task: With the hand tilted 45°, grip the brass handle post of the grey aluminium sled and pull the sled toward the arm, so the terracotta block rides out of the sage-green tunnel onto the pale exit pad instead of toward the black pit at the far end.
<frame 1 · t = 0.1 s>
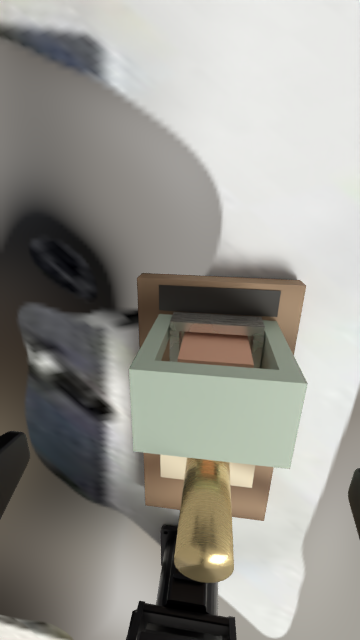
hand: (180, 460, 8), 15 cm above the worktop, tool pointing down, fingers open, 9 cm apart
tunnel: (214, 340, 22), resting on track board
track board: (210, 405, 25), on the worktop
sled: (210, 428, 17), point 7 cm above the worktop, slide at 0.0 cm, touching terracotta block
terracotta block: (214, 358, 20), point 3 cm above the worktop, touching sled
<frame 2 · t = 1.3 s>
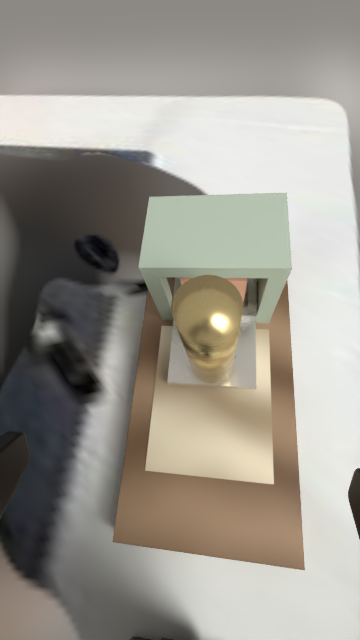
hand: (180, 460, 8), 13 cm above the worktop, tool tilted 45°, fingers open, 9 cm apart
tunnel: (215, 300, 25), resting on track board
track board: (212, 371, 22), on the worktop
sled: (213, 284, 17), point 7 cm above the worktop, slide at 0.0 cm, touching terracotta block
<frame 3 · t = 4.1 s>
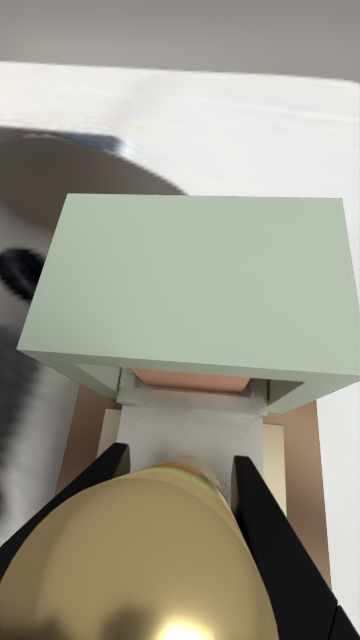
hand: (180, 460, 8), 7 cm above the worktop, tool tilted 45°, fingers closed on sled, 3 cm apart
tunnel: (197, 361, 16), resting on track board
track board: (187, 488, 13), on the worktop
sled: (187, 374, 9), point 7 cm above the worktop, slide at 0.0 cm, touching gripper, terracotta block
terracotta block: (196, 344, 13), point 3 cm above the worktop, touching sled
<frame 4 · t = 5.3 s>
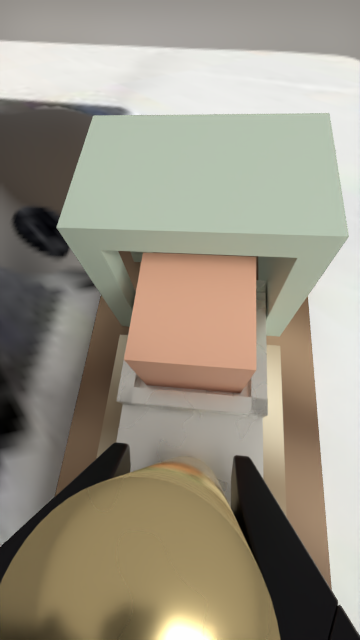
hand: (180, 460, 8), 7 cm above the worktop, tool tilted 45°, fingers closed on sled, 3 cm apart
tunnel: (201, 300, 17), resting on track board
track board: (193, 406, 15), on the worktop
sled: (187, 373, 9), point 7 cm above the worktop, slide at 3.7 cm, touching gripper, terracotta block
terracotta block: (196, 344, 13), point 3 cm above the worktop, touching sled
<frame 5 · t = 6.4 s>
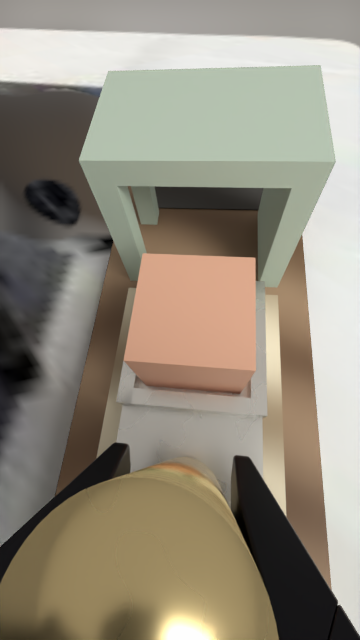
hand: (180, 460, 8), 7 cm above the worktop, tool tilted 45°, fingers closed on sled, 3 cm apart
tunnel: (204, 261, 18), resting on track board
track board: (197, 353, 16), on the worktop
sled: (187, 374, 9), point 7 cm above the worktop, slide at 6.5 cm, touching gripper, terracotta block
terracotta block: (196, 345, 13), point 3 cm above the worktop, touching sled
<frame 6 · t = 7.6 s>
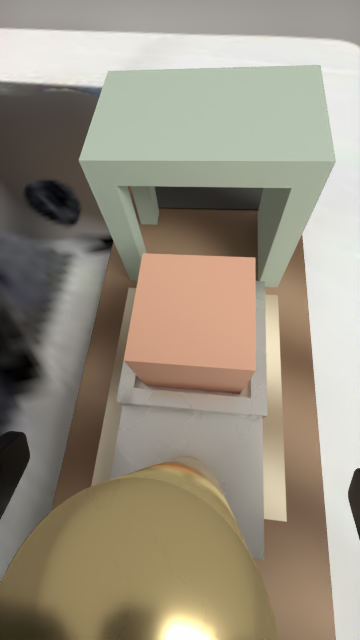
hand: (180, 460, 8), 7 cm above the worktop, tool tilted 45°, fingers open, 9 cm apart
tunnel: (204, 261, 18), resting on track board
track board: (197, 353, 16), on the worktop
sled: (187, 374, 9), point 7 cm above the worktop, slide at 6.5 cm, touching terracotta block
terracotta block: (196, 345, 13), point 3 cm above the worktop, touching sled
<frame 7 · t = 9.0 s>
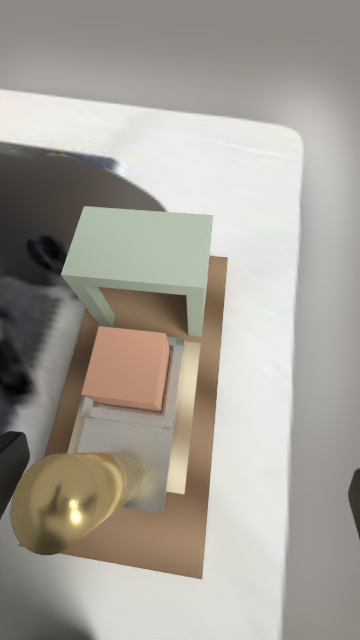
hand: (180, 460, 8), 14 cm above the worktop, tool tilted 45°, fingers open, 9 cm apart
tunnel: (157, 310, 25), resting on track board
track board: (144, 380, 23), on the worktop
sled: (115, 404, 15), point 7 cm above the worktop, slide at 6.5 cm, touching terracotta block
terracotta block: (137, 378, 20), point 3 cm above the worktop, touching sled
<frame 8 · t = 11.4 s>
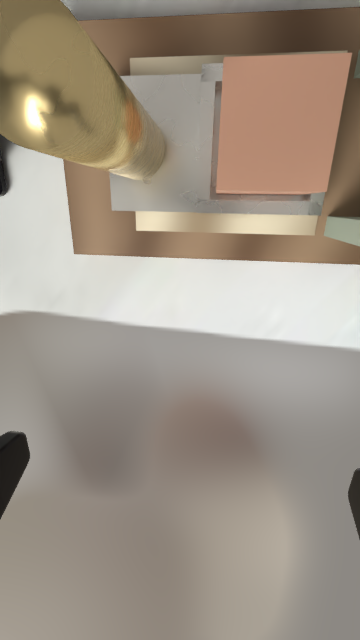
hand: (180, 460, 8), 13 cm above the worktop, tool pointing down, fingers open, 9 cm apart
track board: (263, 156, 16), on the worktop
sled: (210, 127, 10), point 7 cm above the worktop, slide at 6.5 cm, touching terracotta block
terracotta block: (261, 148, 14), point 3 cm above the worktop, touching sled
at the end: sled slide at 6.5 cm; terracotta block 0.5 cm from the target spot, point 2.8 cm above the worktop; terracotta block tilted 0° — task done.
